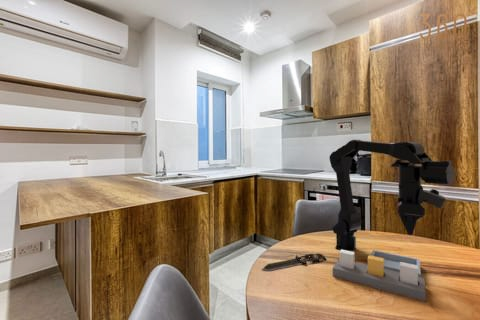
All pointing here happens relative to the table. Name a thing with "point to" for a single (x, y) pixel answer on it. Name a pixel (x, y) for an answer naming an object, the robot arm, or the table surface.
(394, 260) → the tray
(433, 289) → the table surface
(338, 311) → the table surface
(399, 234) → the table surface
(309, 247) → the table surface
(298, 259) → the black knife
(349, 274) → the fuse holder
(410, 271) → the block
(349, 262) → the fuse left
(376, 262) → the block
